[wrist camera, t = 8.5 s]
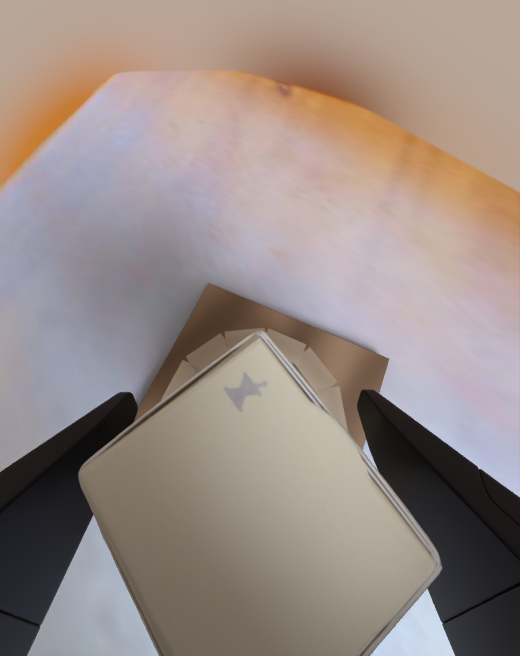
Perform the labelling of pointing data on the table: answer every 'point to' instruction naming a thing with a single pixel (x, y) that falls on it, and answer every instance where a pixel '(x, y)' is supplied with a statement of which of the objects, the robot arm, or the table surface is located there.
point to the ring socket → (289, 336)
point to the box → (255, 519)
